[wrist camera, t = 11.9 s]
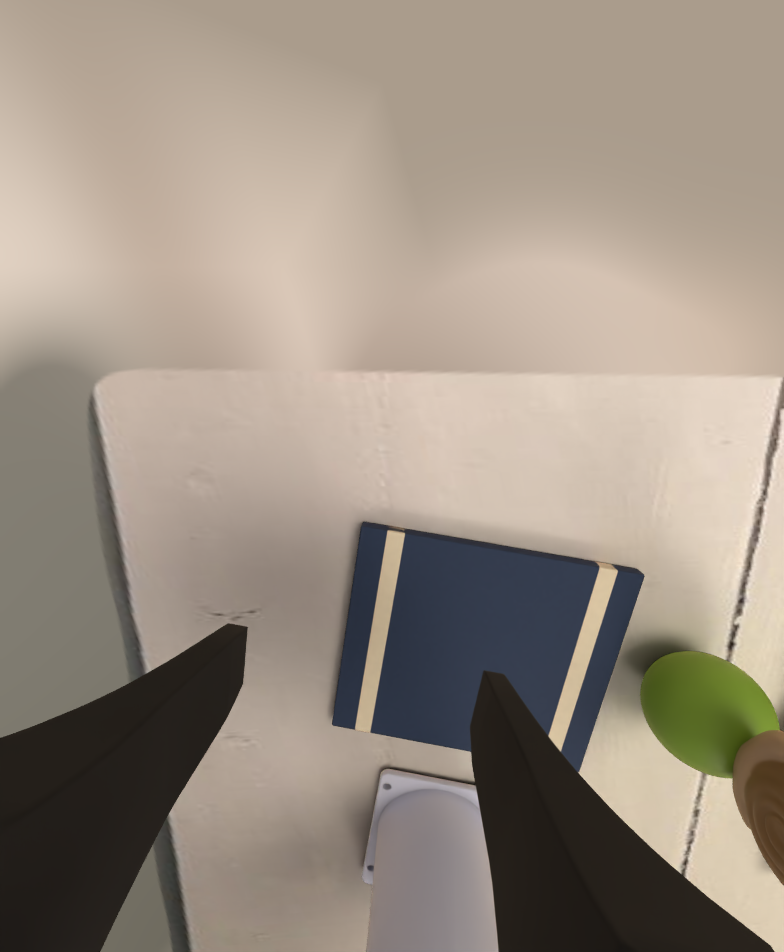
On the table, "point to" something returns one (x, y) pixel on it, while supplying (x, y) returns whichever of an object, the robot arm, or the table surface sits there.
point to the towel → (477, 636)
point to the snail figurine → (723, 736)
